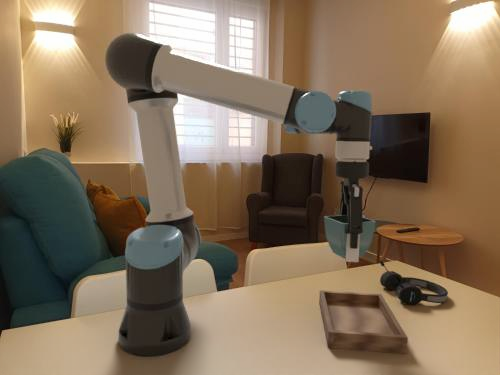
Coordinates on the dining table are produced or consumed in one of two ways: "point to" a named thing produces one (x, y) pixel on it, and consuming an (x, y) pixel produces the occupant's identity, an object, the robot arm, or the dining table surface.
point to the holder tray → (360, 322)
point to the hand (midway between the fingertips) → (347, 254)
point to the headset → (412, 288)
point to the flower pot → (338, 238)
